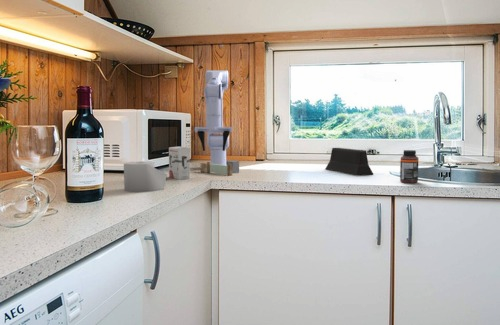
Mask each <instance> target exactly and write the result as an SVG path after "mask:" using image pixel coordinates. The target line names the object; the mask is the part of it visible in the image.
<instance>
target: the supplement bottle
mask: <svg viewBox="0 0 500 325" xmlns="http://www.w3.org/2000/svg"><path fill="white" fill-rule="evenodd" d="M416 152H417V150H415V149H404V150H403V154H402V156H401V157H400V171H399V180H400V182H401V183H404V184H416V183H418V181H419V157H418V156H417V155H416Z"/></svg>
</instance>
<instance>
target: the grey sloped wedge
mask: <svg viewBox="0 0 500 325" xmlns="http://www.w3.org/2000/svg"><path fill="white" fill-rule="evenodd" d="M167 175H168V174H167V173H166V172H163V171H161V170H159V169H157V168H155V162H154V161H128V162H127V161H125V162H124V163H123V178H124V179H123V180H124V181H123V182H124V191H125V192H128V193H146V192H148V193H149V192H157V191H159V192H160V191H164V190H165V186H166V181H167Z"/></svg>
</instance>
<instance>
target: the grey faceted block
mask: <svg viewBox="0 0 500 325" xmlns="http://www.w3.org/2000/svg"><path fill="white" fill-rule="evenodd" d="M227 164H232V175H234V174H238V173H240V161H239V160H226V165H227Z"/></svg>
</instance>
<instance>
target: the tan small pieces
mask: <svg viewBox="0 0 500 325" xmlns="http://www.w3.org/2000/svg"><path fill="white" fill-rule="evenodd" d="M210 164H211V161H207V162H200V165H199V167H200V173H207V174H210V173H212V172H210ZM226 176H228V177H230V176H233V174H232V164H227V174H226Z"/></svg>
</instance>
